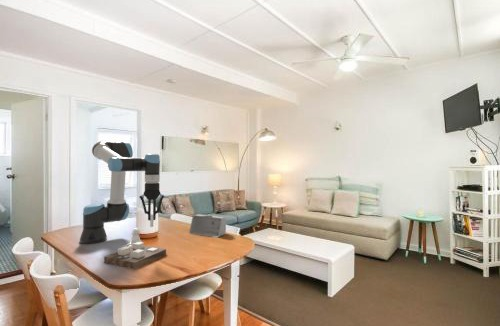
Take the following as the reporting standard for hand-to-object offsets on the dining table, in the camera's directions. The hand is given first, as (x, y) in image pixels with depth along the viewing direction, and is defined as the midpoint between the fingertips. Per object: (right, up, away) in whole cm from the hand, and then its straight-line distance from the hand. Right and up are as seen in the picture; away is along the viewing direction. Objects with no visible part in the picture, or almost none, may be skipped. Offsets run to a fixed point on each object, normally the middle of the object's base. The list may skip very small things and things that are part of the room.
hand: (151, 226), depth 148 cm
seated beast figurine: (-15, -16, +14) cm, 27 cm away
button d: (0, -16, 0) cm, 16 cm away
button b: (-4, -14, -9) cm, 17 cm away
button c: (-9, -14, +4) cm, 17 cm away
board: (-7, -16, -4) cm, 18 cm away
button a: (-13, -14, -5) cm, 19 cm away
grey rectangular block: (+24, -17, +51) cm, 59 cm away
